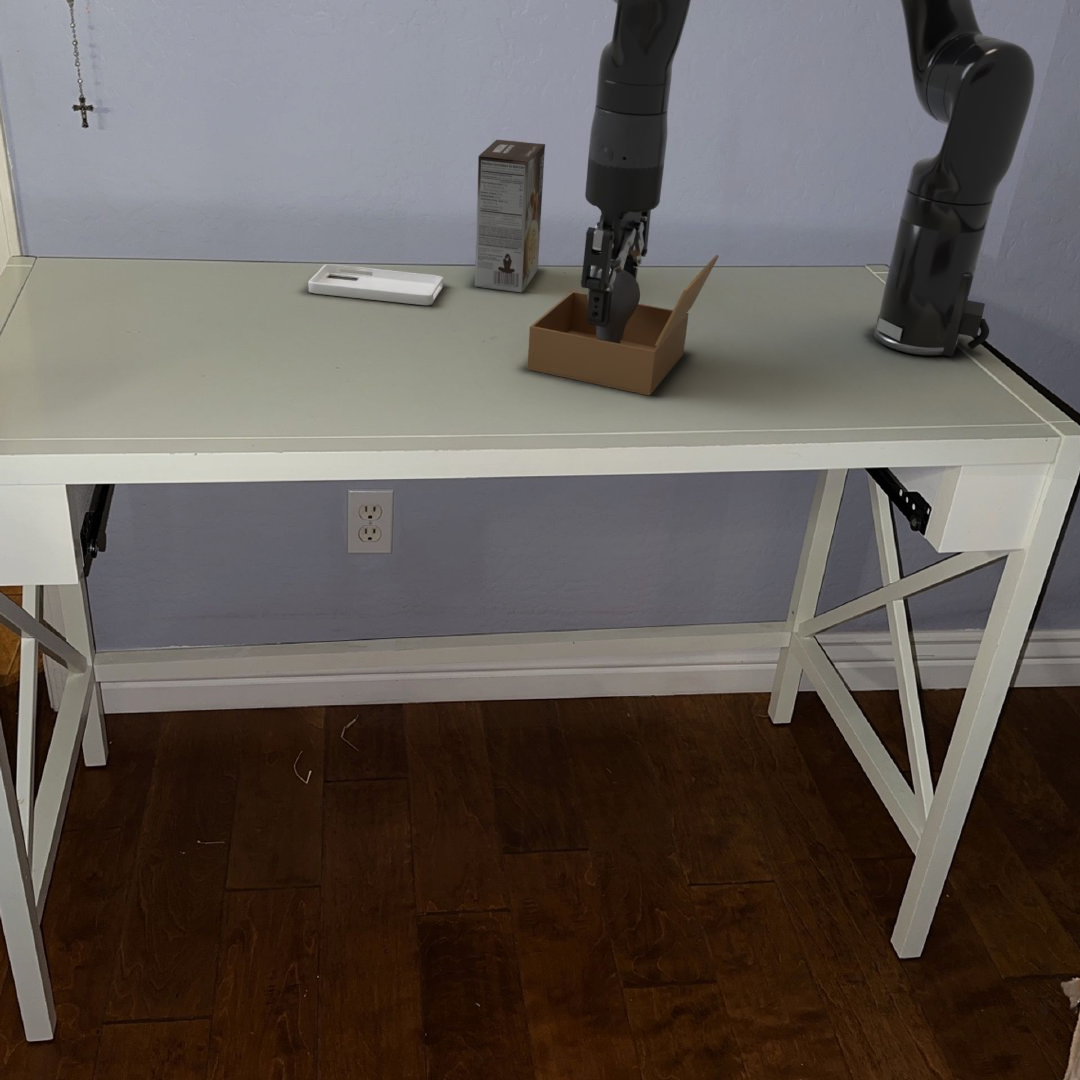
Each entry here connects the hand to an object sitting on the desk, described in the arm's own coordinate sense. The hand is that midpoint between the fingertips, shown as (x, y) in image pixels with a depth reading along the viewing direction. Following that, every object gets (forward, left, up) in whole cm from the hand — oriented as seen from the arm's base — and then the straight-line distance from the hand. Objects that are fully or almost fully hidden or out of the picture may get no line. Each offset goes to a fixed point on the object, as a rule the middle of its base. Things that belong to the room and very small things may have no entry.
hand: (610, 312), depth 123 cm
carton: (0, 0, -6) cm, 6 cm away
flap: (-8, 0, +3) cm, 8 cm away
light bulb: (0, 0, -6) cm, 6 cm away
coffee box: (+20, -19, -6) cm, 28 cm away
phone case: (+32, -7, -6) cm, 33 cm away
